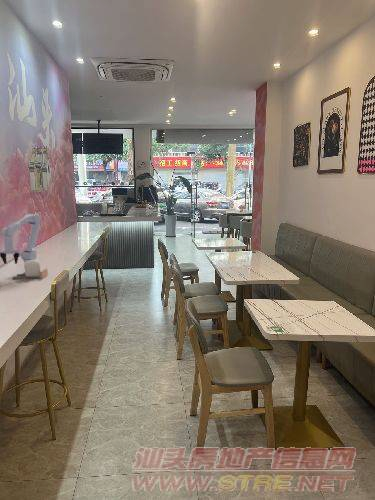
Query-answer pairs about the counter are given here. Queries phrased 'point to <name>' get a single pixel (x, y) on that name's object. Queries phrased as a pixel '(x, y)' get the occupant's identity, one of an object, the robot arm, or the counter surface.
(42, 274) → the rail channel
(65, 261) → the counter surface
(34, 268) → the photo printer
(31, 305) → the counter surface
